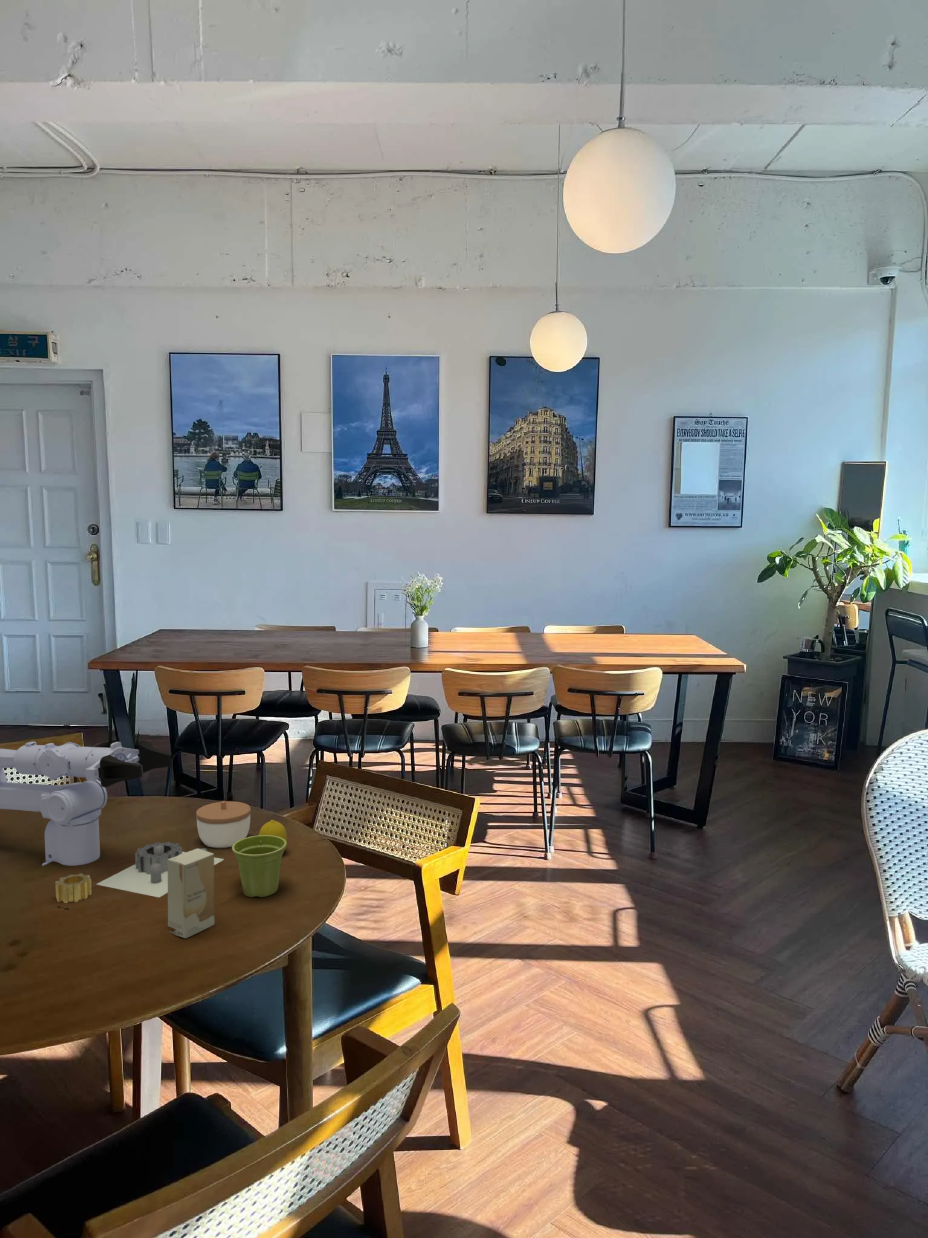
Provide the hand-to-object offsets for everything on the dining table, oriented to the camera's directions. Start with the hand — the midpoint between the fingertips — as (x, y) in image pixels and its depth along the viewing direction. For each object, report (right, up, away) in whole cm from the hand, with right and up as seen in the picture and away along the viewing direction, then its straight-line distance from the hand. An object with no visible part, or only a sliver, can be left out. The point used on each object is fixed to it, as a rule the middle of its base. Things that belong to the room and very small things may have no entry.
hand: (155, 765), depth 151 cm
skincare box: (+12, -24, -16) cm, 31 cm away
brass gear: (-11, -22, -7) cm, 26 cm away
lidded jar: (+7, -20, +19) cm, 28 cm away
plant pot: (+19, -22, -2) cm, 30 cm away
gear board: (0, -21, +3) cm, 22 cm away
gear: (-2, -20, +6) cm, 21 cm away
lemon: (+19, -21, +12) cm, 31 cm away
